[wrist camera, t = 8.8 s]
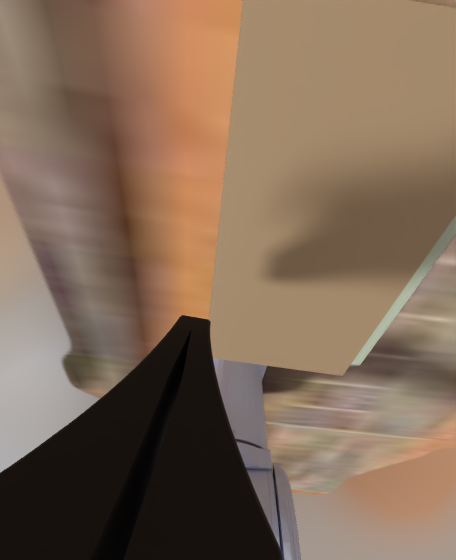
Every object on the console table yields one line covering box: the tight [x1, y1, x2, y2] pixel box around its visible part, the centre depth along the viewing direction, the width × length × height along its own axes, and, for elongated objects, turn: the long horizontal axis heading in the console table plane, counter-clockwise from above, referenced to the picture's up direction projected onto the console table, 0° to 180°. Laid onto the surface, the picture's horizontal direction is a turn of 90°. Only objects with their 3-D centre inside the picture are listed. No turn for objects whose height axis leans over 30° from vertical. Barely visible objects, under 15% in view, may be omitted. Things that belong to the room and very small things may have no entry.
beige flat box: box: [209, 0, 456, 376], centre depth 14 cm, size 20×12×5 cm, turn 173°
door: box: [349, 216, 456, 367], centre depth 14 cm, size 18×2×4 cm, turn 173°
